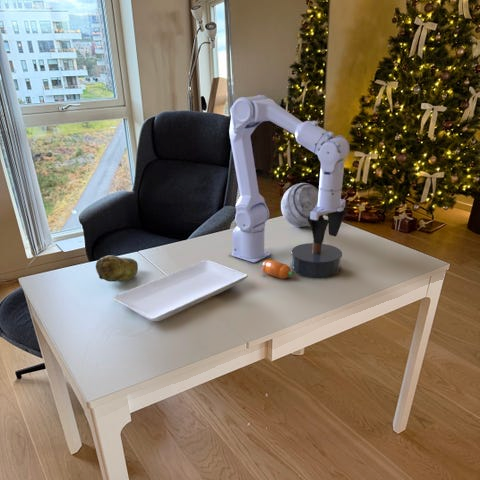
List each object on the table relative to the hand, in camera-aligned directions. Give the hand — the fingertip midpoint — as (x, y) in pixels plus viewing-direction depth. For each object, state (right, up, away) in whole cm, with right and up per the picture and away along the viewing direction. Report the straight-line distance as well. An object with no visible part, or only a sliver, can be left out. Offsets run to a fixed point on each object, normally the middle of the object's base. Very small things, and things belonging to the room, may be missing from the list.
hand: (325, 239), depth 120 cm
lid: (-1, -3, +6) cm, 7 cm away
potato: (-56, -11, +3) cm, 57 cm away
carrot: (-13, -9, +4) cm, 17 cm away
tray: (-37, -16, -6) cm, 41 cm away
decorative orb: (-1, +12, +41) cm, 43 cm away
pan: (-1, -7, +8) cm, 11 cm away
